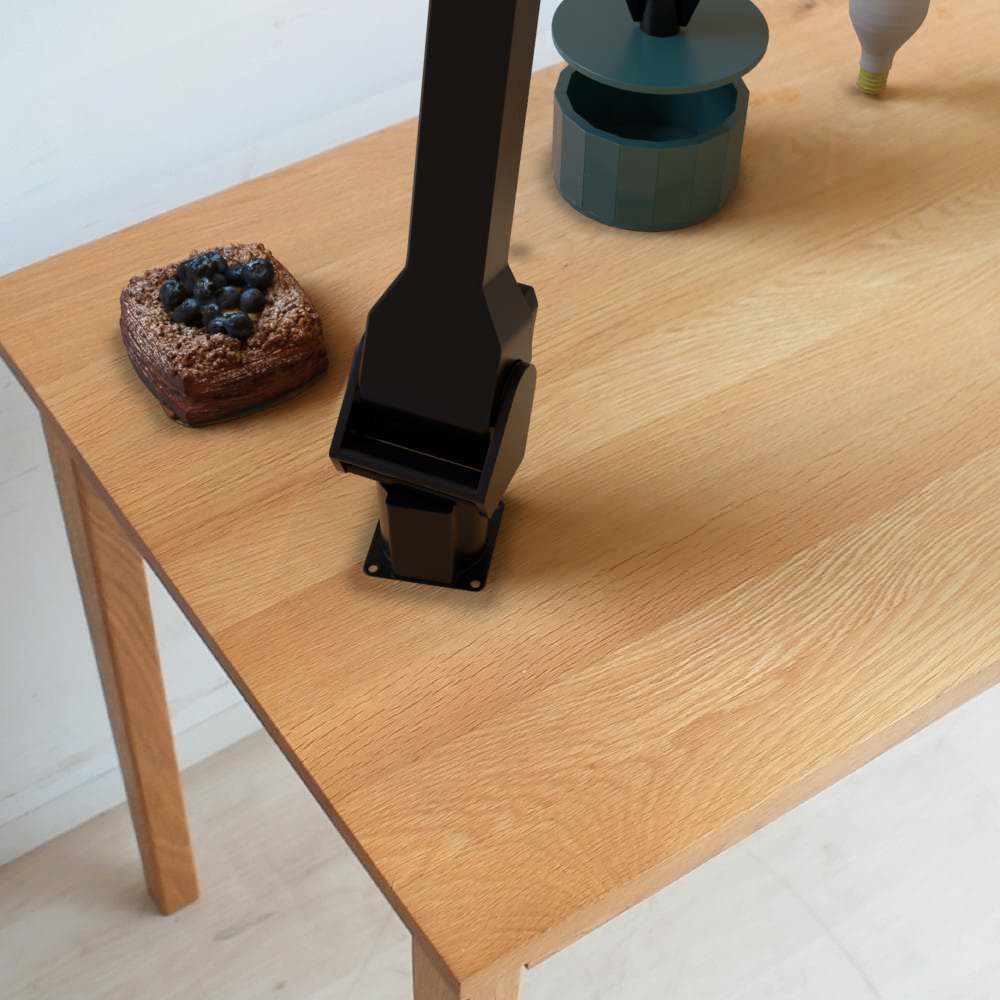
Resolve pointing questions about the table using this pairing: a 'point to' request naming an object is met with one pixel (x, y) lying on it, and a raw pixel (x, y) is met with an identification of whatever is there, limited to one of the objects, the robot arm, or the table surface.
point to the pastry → (222, 334)
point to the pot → (646, 151)
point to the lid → (661, 43)
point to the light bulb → (883, 35)
